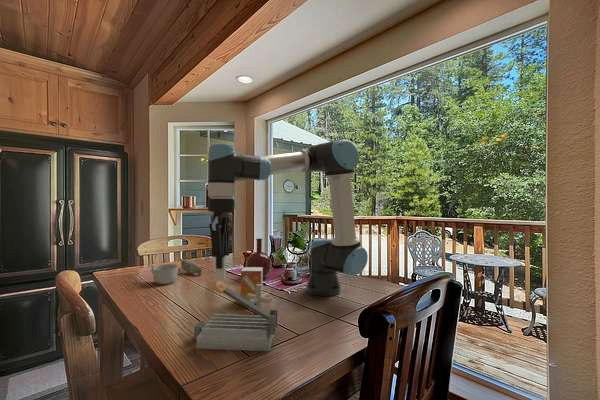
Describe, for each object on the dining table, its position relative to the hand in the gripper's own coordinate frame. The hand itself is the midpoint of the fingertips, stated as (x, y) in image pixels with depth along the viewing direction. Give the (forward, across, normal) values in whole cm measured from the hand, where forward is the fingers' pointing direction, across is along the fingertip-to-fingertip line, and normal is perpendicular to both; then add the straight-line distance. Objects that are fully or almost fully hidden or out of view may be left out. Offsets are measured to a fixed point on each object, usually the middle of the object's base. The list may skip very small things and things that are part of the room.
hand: (220, 278), depth 85 cm
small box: (+18, -31, +2) cm, 36 cm away
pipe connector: (+18, -20, +8) cm, 28 cm away
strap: (+7, 0, +7) cm, 10 cm away
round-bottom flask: (+18, -66, -2) cm, 68 cm away
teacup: (+18, -53, -46) cm, 72 cm away
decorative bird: (+18, -70, -40) cm, 82 cm away
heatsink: (+17, 0, +6) cm, 18 cm away
